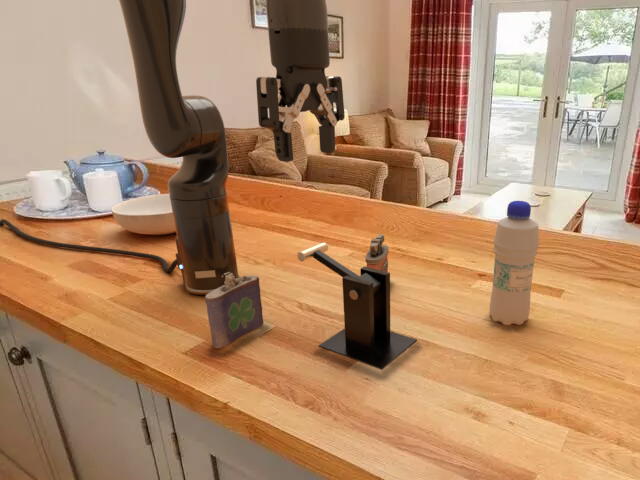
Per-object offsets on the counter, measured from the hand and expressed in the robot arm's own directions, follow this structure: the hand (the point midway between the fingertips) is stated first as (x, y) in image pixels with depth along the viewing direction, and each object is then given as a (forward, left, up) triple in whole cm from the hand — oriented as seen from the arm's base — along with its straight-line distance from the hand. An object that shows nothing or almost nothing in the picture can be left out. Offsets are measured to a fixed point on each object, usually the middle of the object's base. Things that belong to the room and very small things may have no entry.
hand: (307, 156), depth 69 cm
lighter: (+1, +15, -26) cm, 30 cm away
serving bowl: (-65, +16, -26) cm, 72 cm away
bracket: (+12, -3, -26) cm, 29 cm away
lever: (+7, -3, -16) cm, 17 cm away
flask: (-6, -11, -26) cm, 29 cm away
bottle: (+26, +16, -26) cm, 40 cm away
